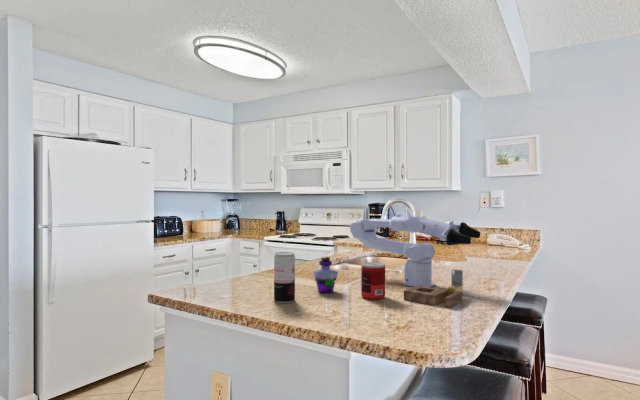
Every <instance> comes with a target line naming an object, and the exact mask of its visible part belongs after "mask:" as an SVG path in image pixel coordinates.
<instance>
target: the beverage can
mask: <svg viewBox="0 0 640 400" xmlns="http://www.w3.org/2000/svg"><path fill="white" fill-rule="evenodd" d="M273 259H274V260H273V262H274V263H273V265H274V266H273V283H274V284H273V300H274V302H276V303H278V304H288V303H290V304H291V303H293V302H294V301H295V300H296V255H295V252H289V251H283V252H282V251H281V252H275V253H274V256H273Z"/></svg>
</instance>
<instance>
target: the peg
mask: <svg viewBox="0 0 640 400" xmlns="http://www.w3.org/2000/svg"><path fill="white" fill-rule="evenodd" d="M463 273H464V271H463V270H462V269H451V286H453V285H462V296H463V295H464V294H463V292H464V290H463V288H464V286H463V284H464V283H463V282H464V281H463V280H464V279H463V276H464V274H463Z"/></svg>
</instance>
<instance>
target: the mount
mask: <svg viewBox="0 0 640 400" xmlns="http://www.w3.org/2000/svg"><path fill="white" fill-rule="evenodd" d="M462 300H463V295H462V292H456V293H454V294H451V295H449V296H448V289H443V288H437V287H433V286H432V287H426V286H419V285H417V286H411V287H410V288H407V289H404V290H403V301H409V302H412V303H413V302H415V303H420V304H425V305H429V306H430V305H431V306H437V305H439V304H441V303H444V308H446V309H451V308H452V307H456V306H457V305H458V304H460V303H461V302H463V301H462Z"/></svg>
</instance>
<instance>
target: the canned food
mask: <svg viewBox="0 0 640 400" xmlns="http://www.w3.org/2000/svg"><path fill="white" fill-rule="evenodd" d="M360 267H361V269H360V270H361V275H360V276H361V277H360V278H361V281H360V283H361V285H360V286H361V287H360V288H361V290H360V291H361V292H360V293H361V298H362V299H363V298H364V299H363V300H366V299H368V300H367V301H381V300H380V299H382V300H383V299H385V297H386V264H385V263H383V262H377V261H376V262H375V261H374V262H371V261H369V262H363V263H361V266H360Z"/></svg>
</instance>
